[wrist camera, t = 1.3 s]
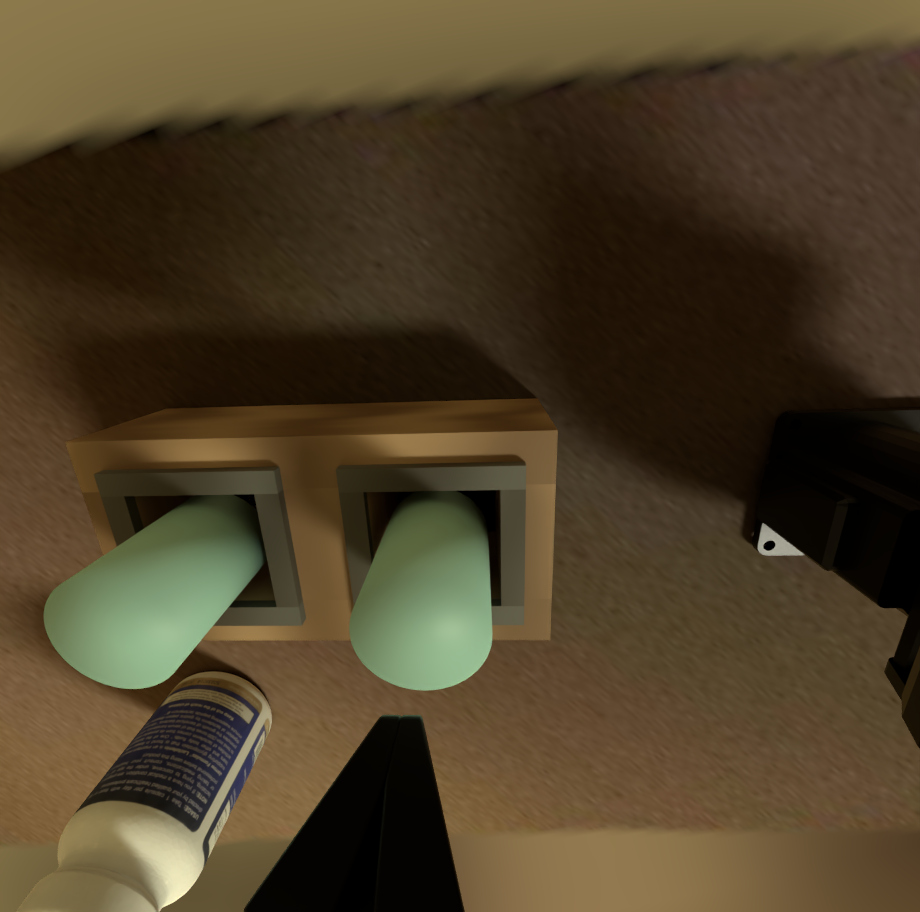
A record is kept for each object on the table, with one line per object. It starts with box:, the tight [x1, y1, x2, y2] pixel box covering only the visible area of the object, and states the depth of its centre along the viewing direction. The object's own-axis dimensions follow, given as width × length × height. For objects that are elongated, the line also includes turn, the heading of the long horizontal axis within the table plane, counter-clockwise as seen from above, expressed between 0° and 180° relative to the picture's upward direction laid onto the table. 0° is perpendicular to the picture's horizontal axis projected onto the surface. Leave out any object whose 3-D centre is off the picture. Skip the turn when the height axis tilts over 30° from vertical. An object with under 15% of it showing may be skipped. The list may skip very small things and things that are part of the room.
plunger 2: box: [349, 491, 492, 690], centre depth 14 cm, size 4×4×5 cm
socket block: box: [65, 398, 558, 640], centre depth 18 cm, size 16×8×5 cm, turn 92°
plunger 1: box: [44, 495, 267, 689], centre depth 14 cm, size 4×4×5 cm
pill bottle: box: [16, 671, 272, 912], centre depth 20 cm, size 6×6×10 cm
